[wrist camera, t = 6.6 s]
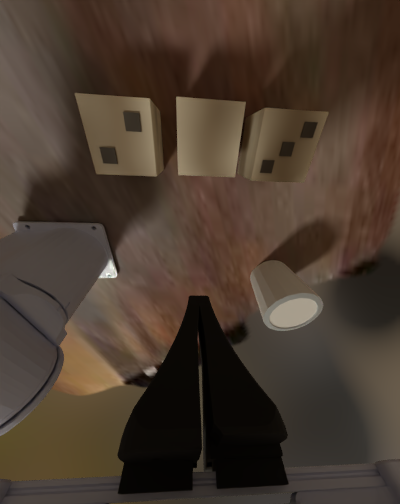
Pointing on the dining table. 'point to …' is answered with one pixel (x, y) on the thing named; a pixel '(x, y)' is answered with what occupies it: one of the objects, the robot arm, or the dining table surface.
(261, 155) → the dotted block three
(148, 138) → the dotted block two
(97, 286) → the dining table surface
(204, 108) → the plain block
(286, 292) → the cream short cylinder
